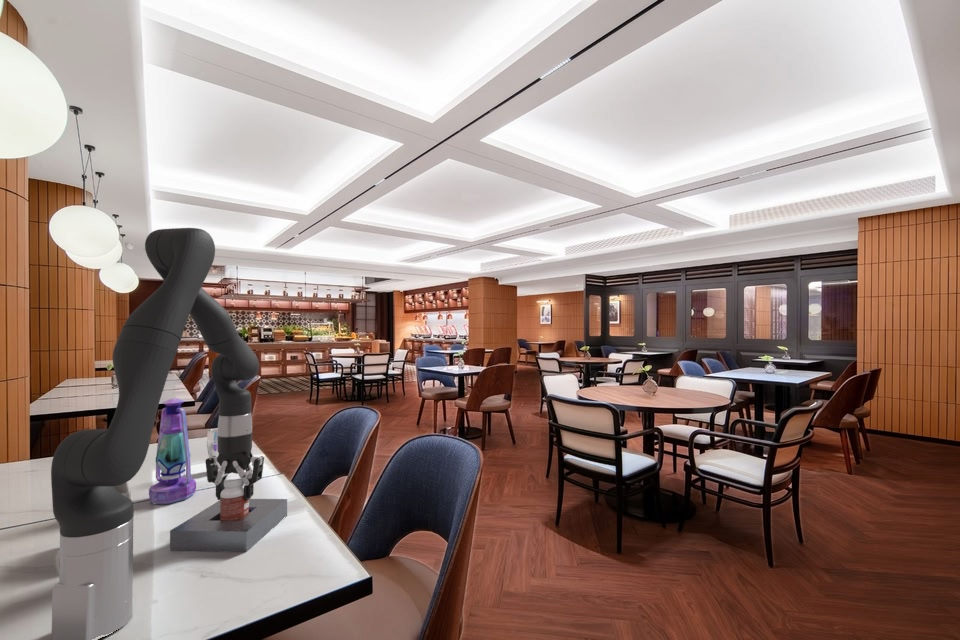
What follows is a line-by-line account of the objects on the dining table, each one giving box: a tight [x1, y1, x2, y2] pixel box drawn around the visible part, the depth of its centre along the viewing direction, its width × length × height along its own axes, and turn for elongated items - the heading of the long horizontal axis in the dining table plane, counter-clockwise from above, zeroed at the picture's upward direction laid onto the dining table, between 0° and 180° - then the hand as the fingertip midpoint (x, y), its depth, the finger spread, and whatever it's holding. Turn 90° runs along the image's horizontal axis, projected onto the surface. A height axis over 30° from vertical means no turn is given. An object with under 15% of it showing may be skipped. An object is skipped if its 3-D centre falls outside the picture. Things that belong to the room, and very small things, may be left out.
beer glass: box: [206, 427, 221, 472], centre depth 147 cm, size 7×7×15 cm
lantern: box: [148, 397, 197, 505], centre depth 124 cm, size 13×12×30 cm
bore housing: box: [169, 498, 288, 553], centre depth 103 cm, size 18×18×4 cm
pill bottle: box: [220, 475, 249, 521], centre depth 103 cm, size 6×6×11 cm
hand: (234, 498), depth 103 cm, fingers closed on pill bottle, 6 cm apart
